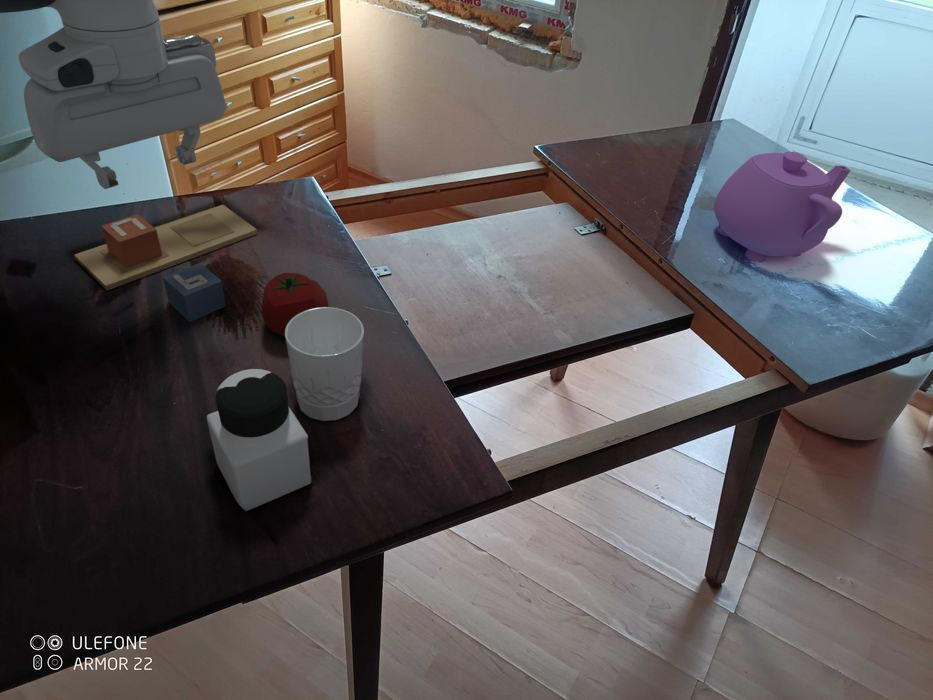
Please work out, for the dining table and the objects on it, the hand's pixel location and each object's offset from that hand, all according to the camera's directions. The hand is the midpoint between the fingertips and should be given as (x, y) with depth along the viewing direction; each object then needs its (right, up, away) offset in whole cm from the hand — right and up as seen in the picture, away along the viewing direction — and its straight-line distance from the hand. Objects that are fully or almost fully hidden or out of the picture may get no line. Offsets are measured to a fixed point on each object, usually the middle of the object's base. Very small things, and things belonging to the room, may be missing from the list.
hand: (149, 173), depth 79 cm
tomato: (+15, -17, +7) cm, 24 cm away
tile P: (+3, -15, +8) cm, 17 cm away
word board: (-5, -6, +17) cm, 18 cm away
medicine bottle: (+16, -33, -11) cm, 38 cm away
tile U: (-8, -7, +13) cm, 17 cm away
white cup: (+21, -26, -2) cm, 34 cm away
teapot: (+86, -4, +32) cm, 92 cm away
